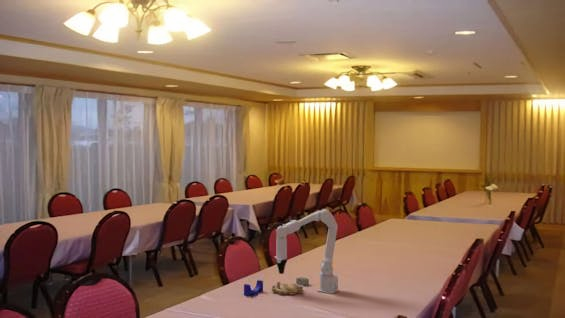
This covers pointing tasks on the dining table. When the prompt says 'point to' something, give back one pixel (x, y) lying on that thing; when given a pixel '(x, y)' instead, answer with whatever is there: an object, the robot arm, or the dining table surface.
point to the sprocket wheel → (286, 288)
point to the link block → (302, 281)
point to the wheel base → (289, 294)
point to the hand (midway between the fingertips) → (281, 273)
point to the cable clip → (255, 291)
